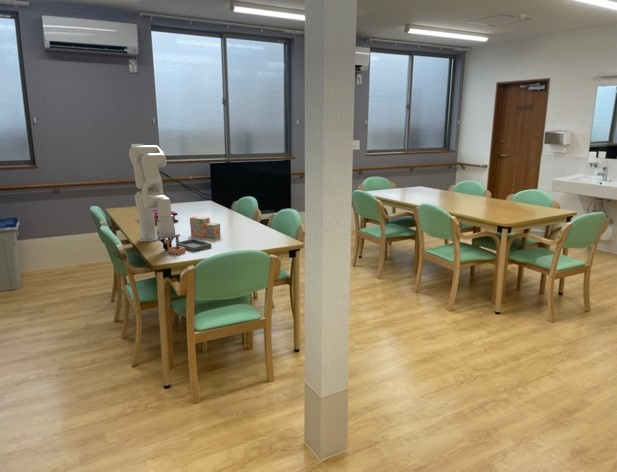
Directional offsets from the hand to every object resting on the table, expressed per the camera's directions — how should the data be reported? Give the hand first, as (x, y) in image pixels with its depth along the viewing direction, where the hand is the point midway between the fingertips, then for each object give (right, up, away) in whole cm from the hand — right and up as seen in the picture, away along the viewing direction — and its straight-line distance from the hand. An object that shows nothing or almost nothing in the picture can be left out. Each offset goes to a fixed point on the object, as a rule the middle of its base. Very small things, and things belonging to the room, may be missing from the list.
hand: (167, 248), depth 277 cm
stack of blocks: (+15, +7, +33) cm, 37 cm away
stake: (+8, -2, -7) cm, 11 cm away
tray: (+14, +1, +6) cm, 15 cm away
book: (-32, +19, +83) cm, 90 cm away
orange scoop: (+4, -2, -4) cm, 6 cm away
